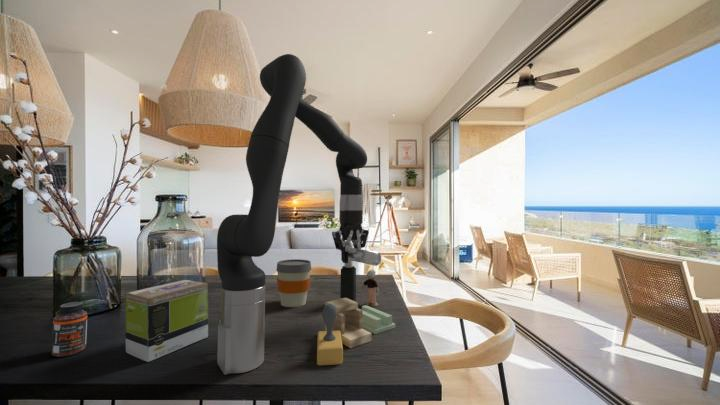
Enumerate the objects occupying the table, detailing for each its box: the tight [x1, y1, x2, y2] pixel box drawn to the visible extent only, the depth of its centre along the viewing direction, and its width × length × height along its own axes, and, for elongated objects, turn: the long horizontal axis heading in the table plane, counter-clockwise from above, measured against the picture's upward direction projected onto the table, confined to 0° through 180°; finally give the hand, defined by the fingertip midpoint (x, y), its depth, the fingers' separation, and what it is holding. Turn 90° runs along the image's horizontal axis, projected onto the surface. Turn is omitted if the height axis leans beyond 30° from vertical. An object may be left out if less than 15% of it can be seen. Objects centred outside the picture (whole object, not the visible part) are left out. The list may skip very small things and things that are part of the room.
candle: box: [339, 241, 357, 302], centre depth 110 cm, size 5×5×25 cm
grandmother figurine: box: [362, 269, 380, 307], centre depth 109 cm, size 8×4×13 cm, turn 58°
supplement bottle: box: [51, 301, 88, 358], centre depth 71 cm, size 6×6×11 cm
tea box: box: [124, 279, 209, 363], centre depth 75 cm, size 15×10×15 cm, turn 152°
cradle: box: [361, 304, 397, 335], centre depth 91 cm, size 8×13×4 cm, turn 39°
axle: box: [348, 247, 382, 266], centre depth 93 cm, size 14×4×4 cm, turn 41°
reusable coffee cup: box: [276, 258, 312, 308], centre depth 110 cm, size 13×13×15 cm
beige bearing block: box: [324, 298, 373, 349], centre depth 81 cm, size 7×12×8 cm, turn 39°
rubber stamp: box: [316, 304, 344, 366], centre depth 72 cm, size 10×6×12 cm, turn 7°
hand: (350, 261), depth 97 cm, fingers closed on axle, 4 cm apart
